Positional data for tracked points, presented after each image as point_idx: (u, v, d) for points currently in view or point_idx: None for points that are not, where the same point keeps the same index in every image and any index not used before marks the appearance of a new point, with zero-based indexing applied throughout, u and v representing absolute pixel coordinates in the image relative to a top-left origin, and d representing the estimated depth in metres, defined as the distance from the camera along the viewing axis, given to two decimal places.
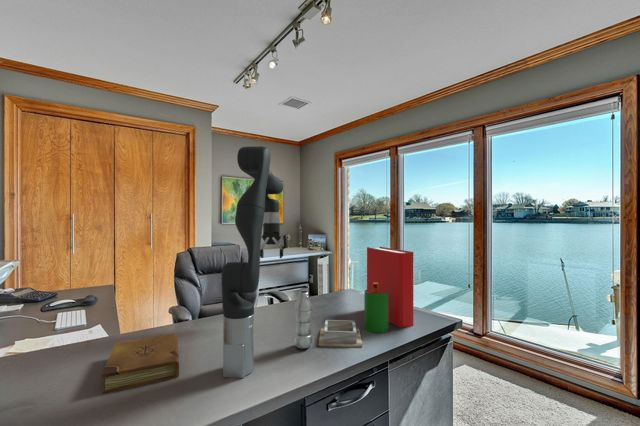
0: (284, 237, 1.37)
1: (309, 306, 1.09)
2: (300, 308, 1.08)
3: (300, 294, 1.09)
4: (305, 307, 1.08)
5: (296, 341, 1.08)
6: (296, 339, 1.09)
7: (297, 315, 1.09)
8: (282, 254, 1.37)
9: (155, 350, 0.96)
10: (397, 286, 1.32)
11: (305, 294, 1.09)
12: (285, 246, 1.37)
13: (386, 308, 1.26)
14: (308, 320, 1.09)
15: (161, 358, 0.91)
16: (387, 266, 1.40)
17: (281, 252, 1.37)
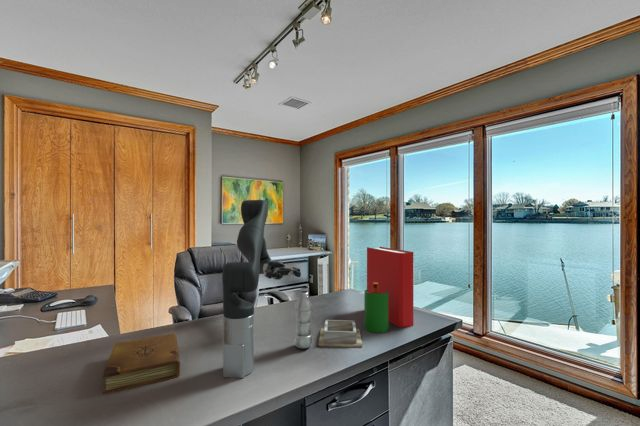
0: (293, 267, 1.31)
1: (309, 306, 1.09)
2: (300, 308, 1.08)
3: (300, 294, 1.09)
4: (305, 307, 1.08)
5: (296, 341, 1.08)
6: (296, 339, 1.09)
7: (297, 315, 1.09)
8: (299, 272, 1.24)
9: (155, 350, 0.96)
10: (397, 286, 1.32)
11: (305, 294, 1.09)
12: None
13: (386, 308, 1.26)
14: (308, 320, 1.09)
15: (162, 358, 0.91)
16: (387, 266, 1.40)
17: None
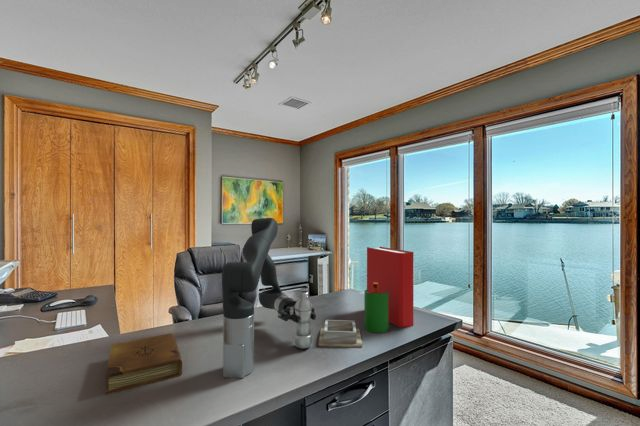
0: None
1: (309, 306, 1.09)
2: (300, 308, 1.08)
3: (300, 294, 1.09)
4: (305, 307, 1.08)
5: (296, 341, 1.08)
6: (296, 339, 1.09)
7: (297, 315, 1.09)
8: None
9: (156, 350, 0.96)
10: (397, 286, 1.32)
11: (305, 294, 1.09)
12: (313, 308, 1.16)
13: (386, 308, 1.26)
14: (308, 320, 1.09)
15: (164, 357, 0.91)
16: (387, 266, 1.40)
17: None
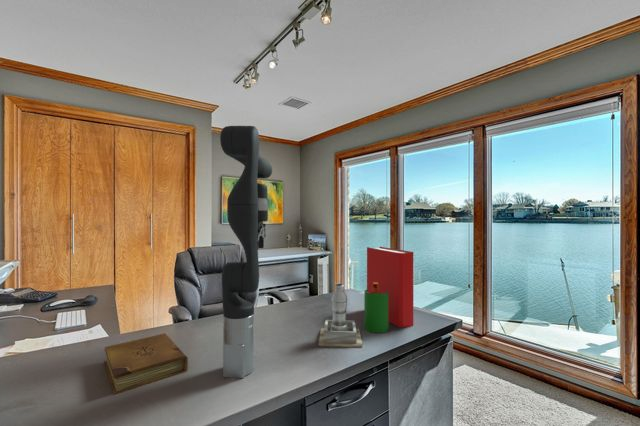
0: None
1: (345, 298, 1.17)
2: (337, 299, 1.16)
3: (337, 286, 1.18)
4: (342, 298, 1.16)
5: (333, 330, 1.17)
6: (333, 328, 1.17)
7: (334, 306, 1.17)
8: None
9: (156, 349, 0.97)
10: (397, 286, 1.32)
11: (341, 286, 1.18)
12: (265, 235, 1.31)
13: (386, 308, 1.26)
14: (344, 311, 1.17)
15: (168, 355, 0.93)
16: (387, 266, 1.40)
17: None
